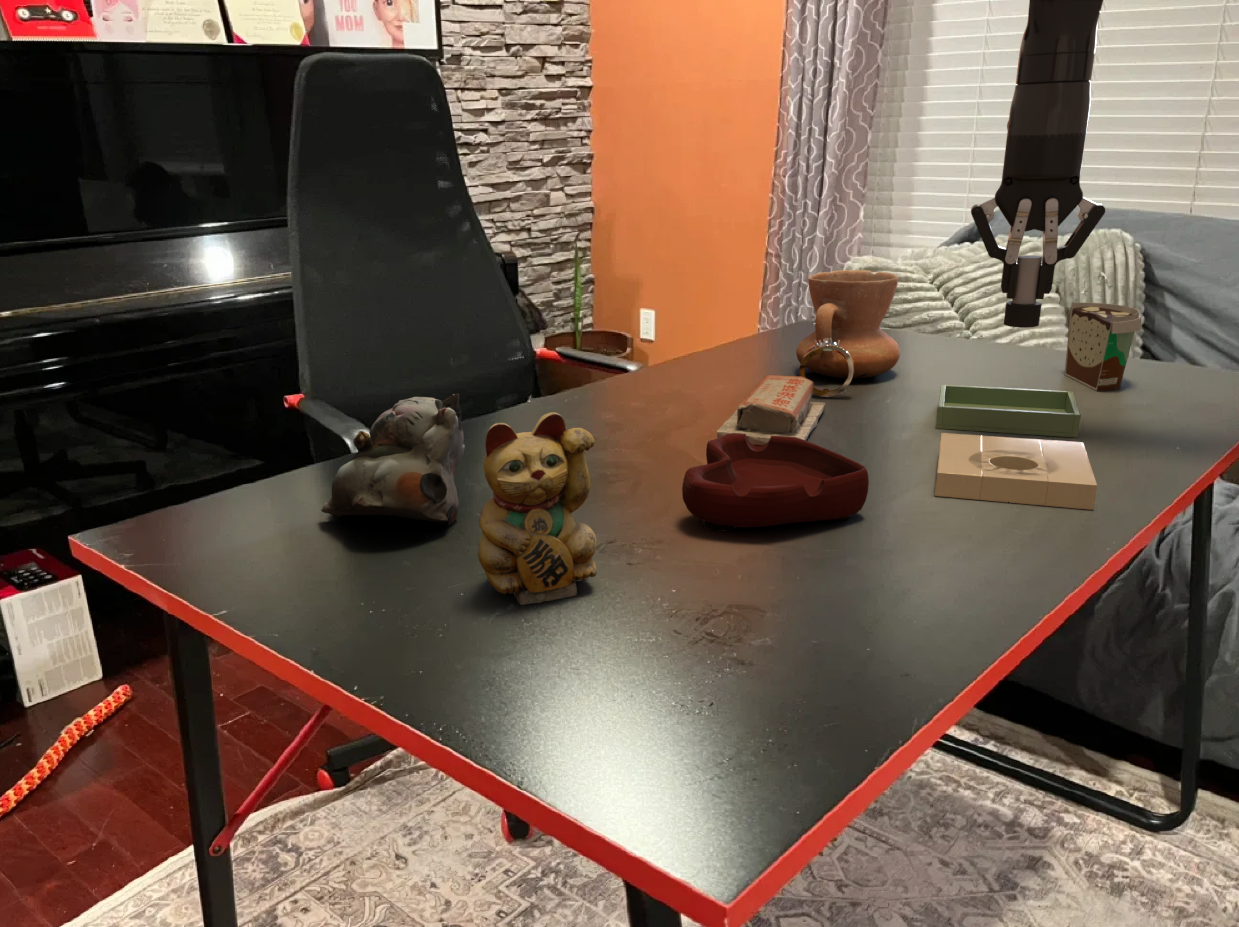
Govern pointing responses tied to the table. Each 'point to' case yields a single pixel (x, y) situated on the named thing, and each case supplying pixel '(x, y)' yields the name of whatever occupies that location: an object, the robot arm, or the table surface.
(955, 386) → the tray
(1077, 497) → the sink deck
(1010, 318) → the plug
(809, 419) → the packaged product
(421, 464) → the lucky cat figurine
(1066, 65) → the robot arm
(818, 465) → the ashtray
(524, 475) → the decorative figurine
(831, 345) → the ring
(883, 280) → the ceramic jug
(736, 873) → the table surface
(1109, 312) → the food container
